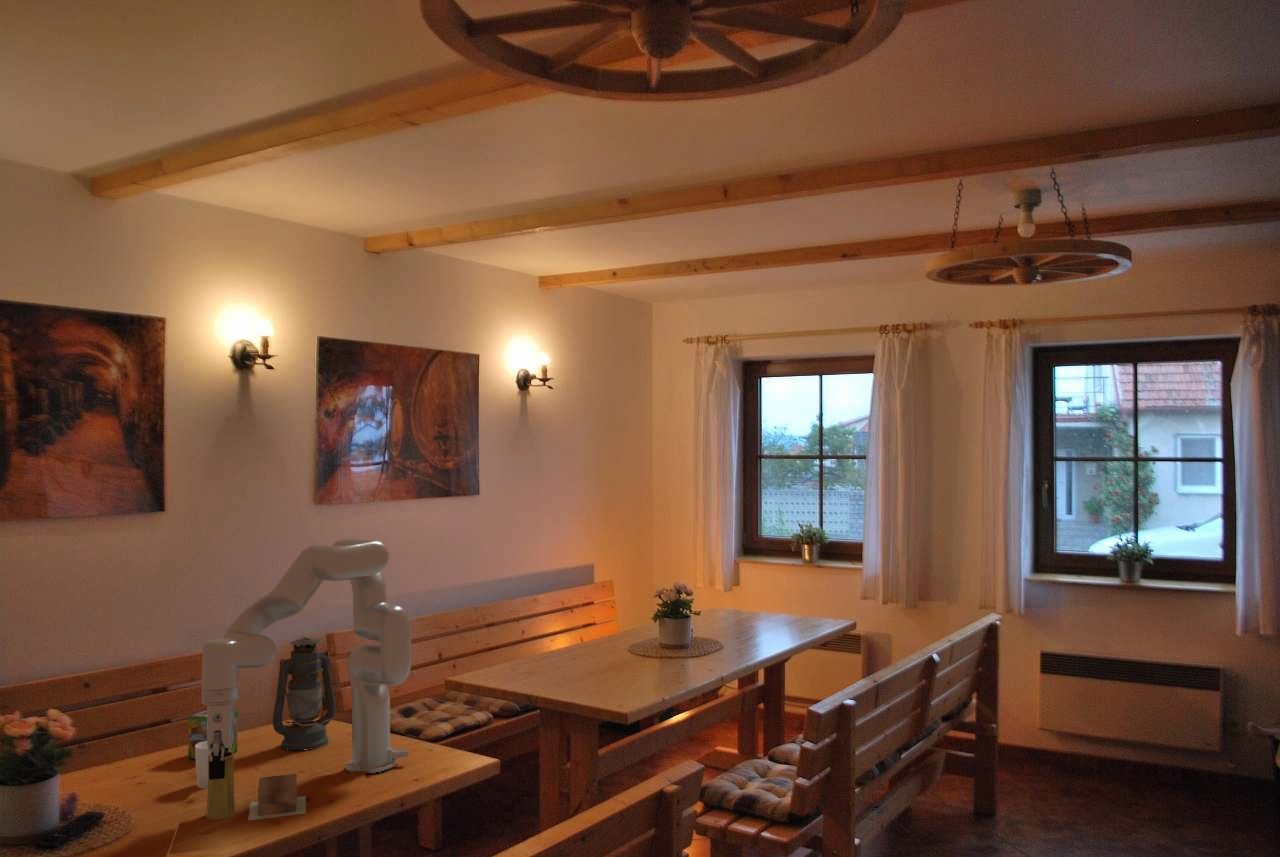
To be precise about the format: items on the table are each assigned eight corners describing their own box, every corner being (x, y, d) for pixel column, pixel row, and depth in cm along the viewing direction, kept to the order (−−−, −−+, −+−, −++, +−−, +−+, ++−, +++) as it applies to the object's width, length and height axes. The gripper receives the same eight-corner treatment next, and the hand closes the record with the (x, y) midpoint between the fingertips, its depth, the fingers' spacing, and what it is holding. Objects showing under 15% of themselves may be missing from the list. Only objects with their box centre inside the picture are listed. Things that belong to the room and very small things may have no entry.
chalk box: (187, 759, 264) (187, 704, 264) (209, 749, 273) (209, 695, 273) (217, 761, 262) (217, 705, 262) (238, 751, 271) (238, 697, 271)
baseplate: (305, 800, 231) (305, 795, 231) (305, 817, 220) (305, 813, 220) (251, 806, 228) (251, 802, 228) (247, 824, 216) (247, 820, 216)
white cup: (216, 790, 239) (216, 749, 239) (187, 789, 240) (187, 747, 240) (236, 780, 246) (236, 740, 247) (208, 778, 248) (208, 738, 248)
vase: (211, 814, 223) (211, 751, 223) (239, 813, 223) (239, 750, 224) (201, 824, 217) (201, 759, 217) (230, 823, 217) (230, 758, 217)
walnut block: (296, 799, 229) (296, 773, 229) (296, 811, 221) (296, 784, 221) (259, 803, 226) (259, 777, 226) (258, 815, 219) (258, 788, 219)
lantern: (323, 732, 288) (322, 629, 289) (351, 741, 279) (350, 635, 280) (260, 748, 273) (260, 640, 274) (288, 758, 264) (288, 646, 265)
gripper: (235, 702, 214) (234, 782, 213) (240, 685, 230) (239, 760, 229) (197, 705, 211) (196, 785, 210) (205, 688, 228) (204, 763, 227)
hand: (218, 772), depth 220 cm, fingers open, 9 cm apart
